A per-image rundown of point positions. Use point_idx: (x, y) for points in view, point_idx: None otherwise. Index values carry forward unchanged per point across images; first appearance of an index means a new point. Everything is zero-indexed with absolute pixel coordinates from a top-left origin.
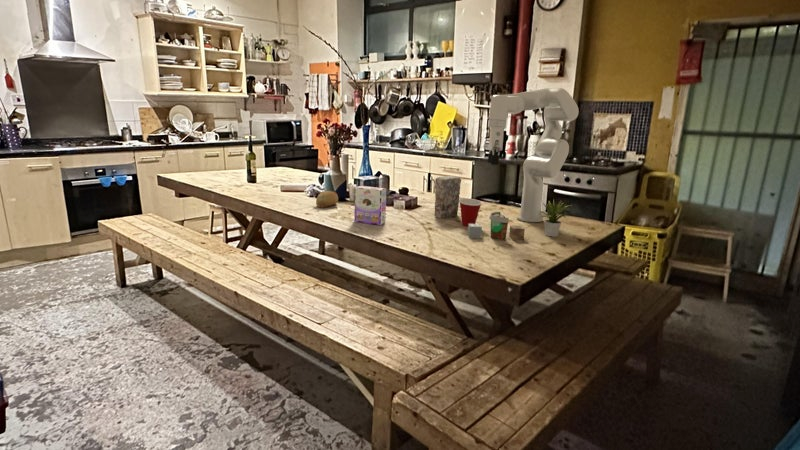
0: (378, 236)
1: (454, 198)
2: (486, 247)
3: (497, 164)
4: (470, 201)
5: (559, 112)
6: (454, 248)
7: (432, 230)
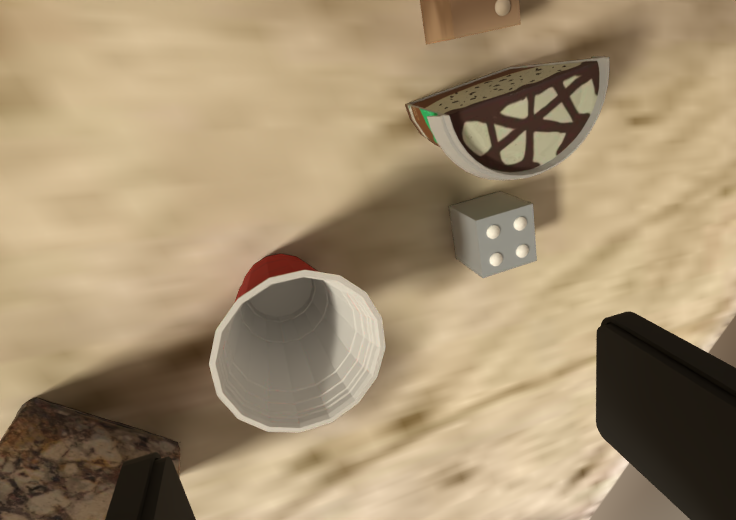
0: (558, 515)
1: (43, 499)
2: (626, 153)
3: (624, 322)
4: (223, 363)
5: None
6: (650, 268)
7: (433, 405)
